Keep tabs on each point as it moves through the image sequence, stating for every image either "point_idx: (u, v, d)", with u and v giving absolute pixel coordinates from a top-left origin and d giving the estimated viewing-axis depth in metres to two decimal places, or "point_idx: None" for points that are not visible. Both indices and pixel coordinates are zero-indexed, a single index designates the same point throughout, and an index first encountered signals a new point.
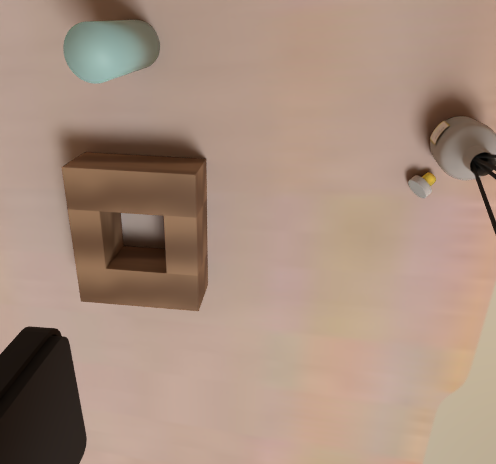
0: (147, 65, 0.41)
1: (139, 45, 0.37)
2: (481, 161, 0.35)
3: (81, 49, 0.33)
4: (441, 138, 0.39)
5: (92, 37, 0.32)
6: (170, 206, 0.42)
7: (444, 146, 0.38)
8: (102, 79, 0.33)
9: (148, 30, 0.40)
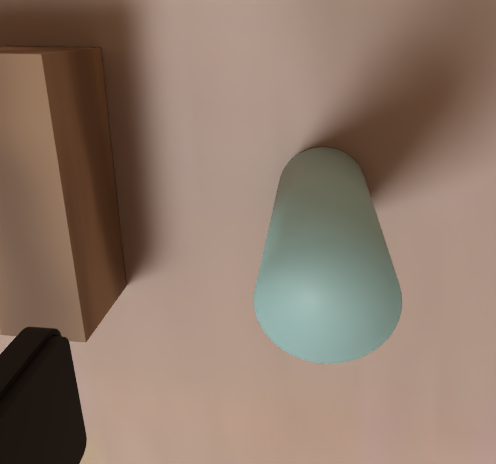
0: None
1: None
2: None
3: (336, 283, 0.13)
4: None
5: (362, 312, 0.13)
6: (10, 291, 0.21)
7: None
8: (263, 316, 0.13)
9: None
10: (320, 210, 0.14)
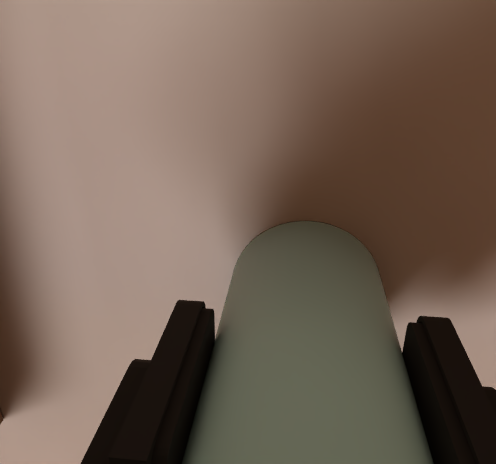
0: None
1: None
2: None
3: None
4: None
5: None
6: None
7: None
8: None
9: None
10: None
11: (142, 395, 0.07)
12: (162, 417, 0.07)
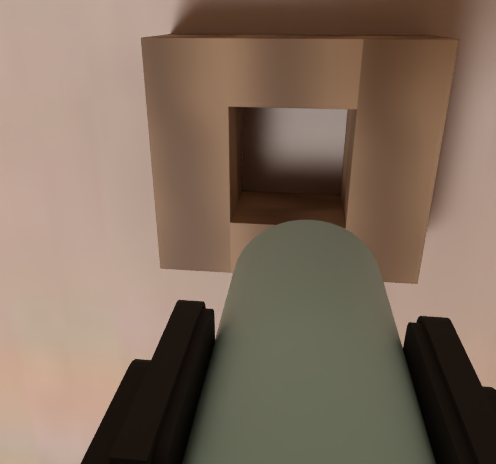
0: None
1: None
2: None
3: None
4: None
5: None
6: (362, 240, 0.25)
7: None
8: None
9: None
10: None
11: (142, 395, 0.07)
12: (161, 417, 0.07)
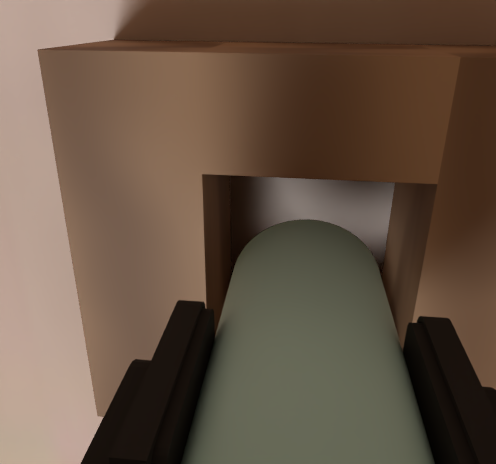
0: None
1: None
2: None
3: None
4: None
5: None
6: None
7: None
8: None
9: None
10: None
11: (142, 395, 0.07)
12: (161, 417, 0.07)
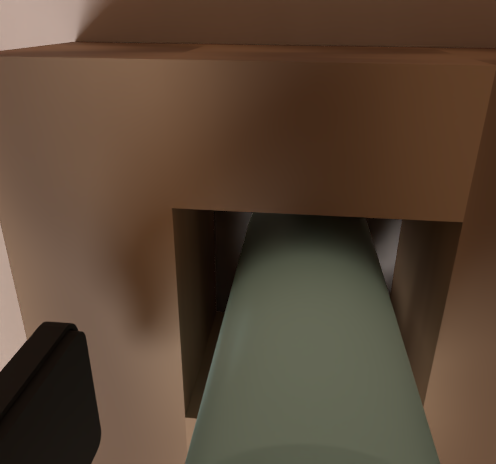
0: None
1: None
2: None
3: None
4: None
5: None
6: (448, 460, 0.12)
7: None
8: None
9: None
10: (298, 340, 0.08)
11: None
12: None
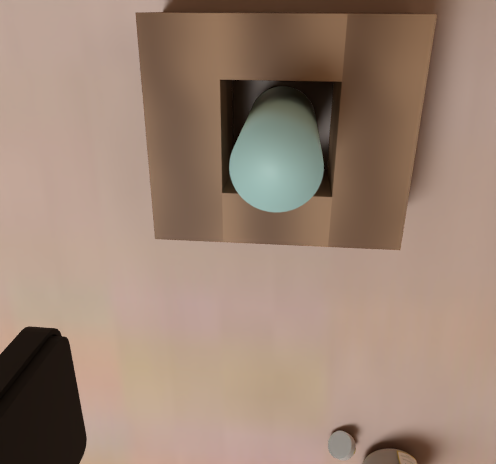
0: None
1: None
2: None
3: (282, 153, 0.20)
4: None
5: (299, 173, 0.20)
6: (347, 209, 0.26)
7: None
8: (236, 179, 0.21)
9: None
10: (272, 112, 0.21)
11: None
12: None
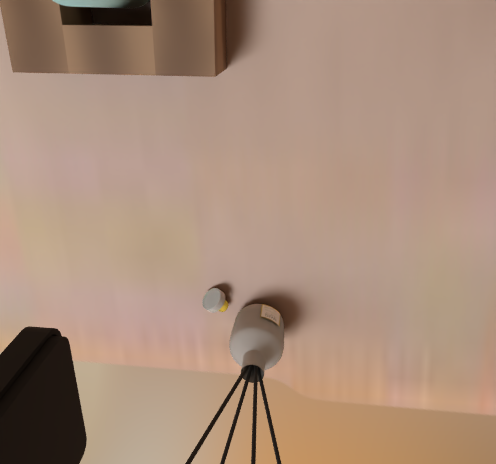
0: None
1: (107, 7, 0.30)
2: (256, 375, 0.37)
3: None
4: (267, 322, 0.41)
5: None
6: (166, 37, 0.31)
7: (261, 330, 0.40)
8: None
9: (140, 1, 0.33)
10: None
11: None
12: None
